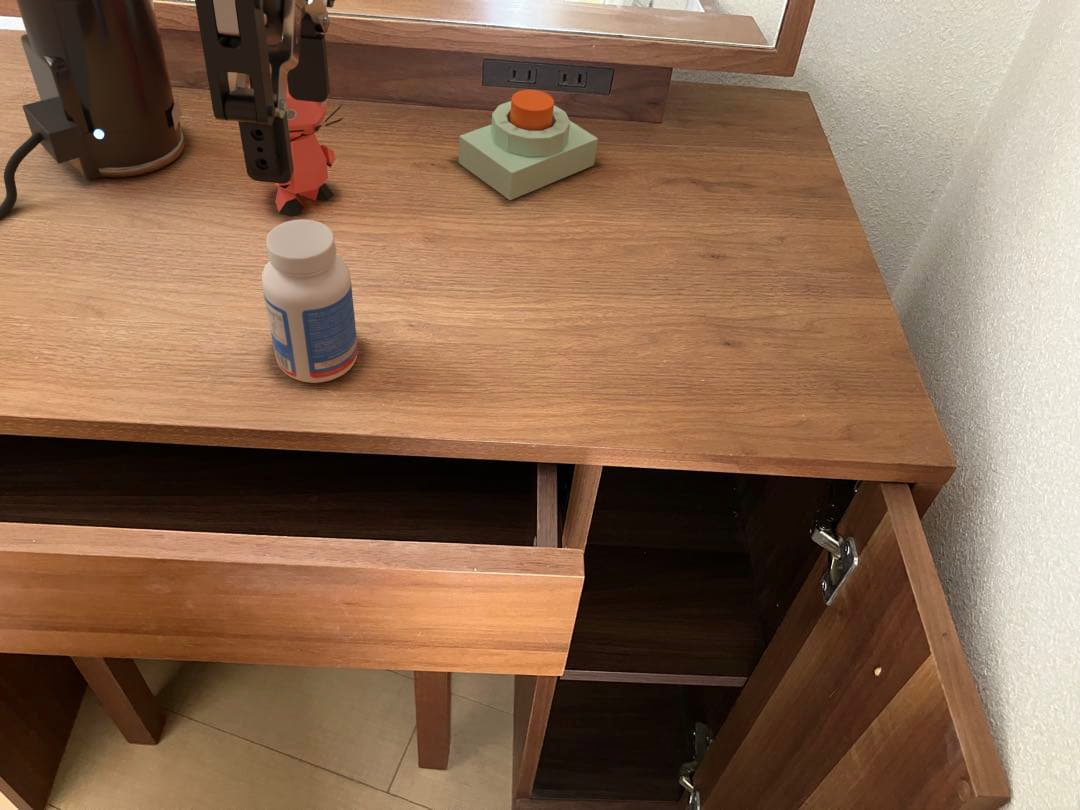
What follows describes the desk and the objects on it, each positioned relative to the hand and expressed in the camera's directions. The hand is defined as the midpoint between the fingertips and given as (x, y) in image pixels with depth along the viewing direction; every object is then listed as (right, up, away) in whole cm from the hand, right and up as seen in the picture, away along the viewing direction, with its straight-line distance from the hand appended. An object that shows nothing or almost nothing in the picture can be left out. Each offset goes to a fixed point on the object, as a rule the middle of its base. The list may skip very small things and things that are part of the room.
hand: (291, 136), depth 49 cm
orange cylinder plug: (+13, +10, +28) cm, 32 cm away
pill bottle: (-2, -11, +12) cm, 17 cm away
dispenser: (+12, +7, +31) cm, 34 cm away
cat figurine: (-6, +2, +25) cm, 25 cm away
